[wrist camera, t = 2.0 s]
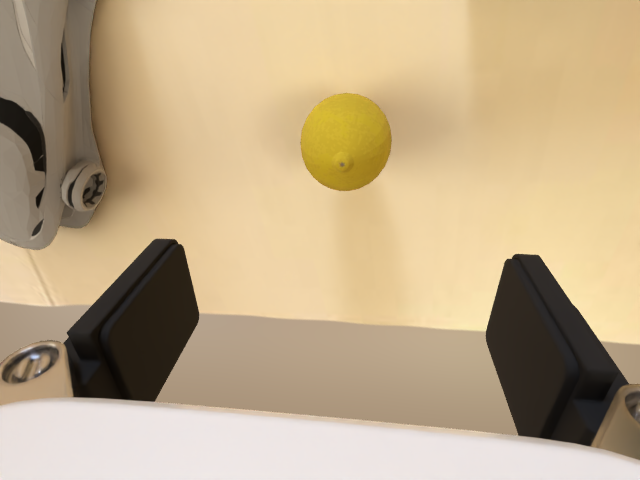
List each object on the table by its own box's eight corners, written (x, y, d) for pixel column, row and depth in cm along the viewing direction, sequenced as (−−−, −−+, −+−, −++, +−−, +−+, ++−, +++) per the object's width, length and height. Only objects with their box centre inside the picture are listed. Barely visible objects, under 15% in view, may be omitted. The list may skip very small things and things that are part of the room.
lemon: (400, 97, 26) (412, 131, 19) (371, 171, 29) (373, 223, 22) (321, 71, 26) (305, 97, 19) (301, 149, 28) (280, 195, 22)
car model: (117, -78, 22) (59, -97, 18) (105, 247, 35) (69, 280, 31) (-79, -158, 21) (-189, -197, 17) (-19, 206, 34) (-73, 235, 30)
